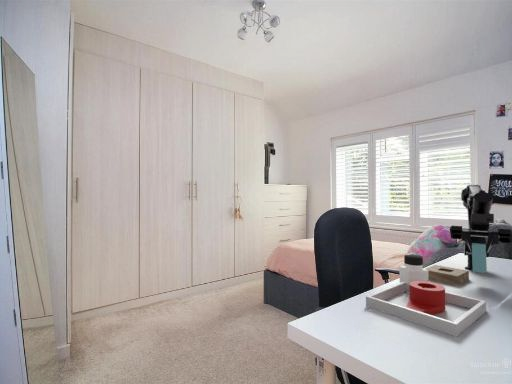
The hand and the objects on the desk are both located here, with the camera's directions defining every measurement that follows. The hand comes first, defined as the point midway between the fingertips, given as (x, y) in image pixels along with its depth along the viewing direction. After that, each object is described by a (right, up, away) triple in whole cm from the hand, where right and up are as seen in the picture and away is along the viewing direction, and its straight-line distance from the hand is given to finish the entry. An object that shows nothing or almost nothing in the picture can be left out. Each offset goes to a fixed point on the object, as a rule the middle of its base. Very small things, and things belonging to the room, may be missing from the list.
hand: (478, 251), depth 106 cm
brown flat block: (-6, -13, +9) cm, 17 cm away
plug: (+1, -7, +1) cm, 7 cm away
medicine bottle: (-24, -13, 0) cm, 27 cm away
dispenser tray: (-32, -13, -20) cm, 39 cm away
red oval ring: (-33, -13, -21) cm, 41 cm away
